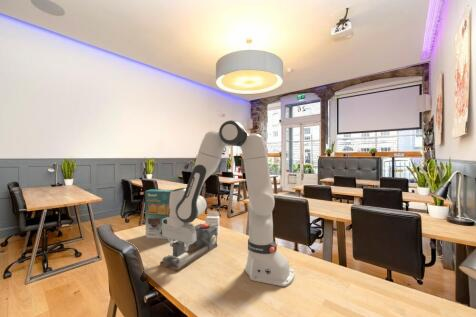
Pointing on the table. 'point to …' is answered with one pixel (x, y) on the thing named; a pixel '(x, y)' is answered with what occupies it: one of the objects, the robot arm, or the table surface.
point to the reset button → (204, 225)
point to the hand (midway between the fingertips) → (178, 248)
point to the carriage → (179, 251)
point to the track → (194, 248)
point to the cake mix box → (156, 211)
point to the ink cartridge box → (213, 219)
